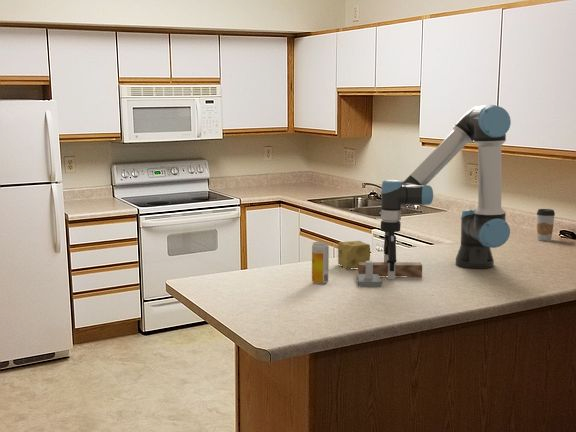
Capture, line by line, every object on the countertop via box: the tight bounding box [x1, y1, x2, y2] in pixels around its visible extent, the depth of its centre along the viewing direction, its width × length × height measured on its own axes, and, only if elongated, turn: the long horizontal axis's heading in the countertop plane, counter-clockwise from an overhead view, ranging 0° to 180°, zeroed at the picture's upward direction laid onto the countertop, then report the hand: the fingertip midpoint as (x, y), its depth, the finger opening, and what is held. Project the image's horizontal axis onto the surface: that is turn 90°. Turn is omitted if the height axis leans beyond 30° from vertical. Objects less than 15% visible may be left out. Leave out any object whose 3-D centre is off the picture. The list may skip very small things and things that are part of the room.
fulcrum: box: [356, 260, 383, 288], centre depth 252 cm, size 8×12×8 cm, turn 178°
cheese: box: [337, 240, 371, 270], centre depth 279 cm, size 10×11×10 cm
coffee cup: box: [536, 208, 556, 242], centre depth 334 cm, size 8×8×15 cm
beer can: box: [311, 241, 330, 286], centre depth 252 cm, size 6×6×15 cm
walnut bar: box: [357, 261, 423, 278], centre depth 264 cm, size 24×5×5 cm, turn 88°
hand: (389, 275), depth 264 cm, fingers open, 13 cm apart
